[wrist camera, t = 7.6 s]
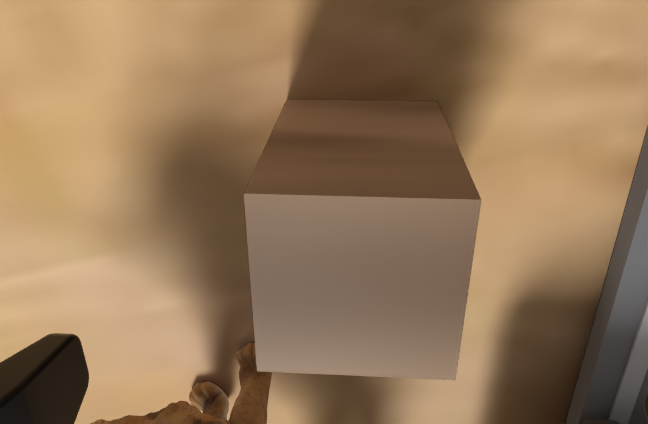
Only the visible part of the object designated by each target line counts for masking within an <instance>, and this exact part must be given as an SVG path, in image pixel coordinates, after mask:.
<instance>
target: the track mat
mask: <svg viewBox="0 0 648 424" xmlns="http://www.w3.org/2000/svg"><path fill="white" fill-rule="evenodd" d="M647 392H648V128H647V132H646V135H645V139H644V143H643V146H642V150H641V153H640V157H639V160H638V164H637V168H636V171H635V175H634V178H633V182H632V186H631V189H630V193H629V196H628V200H627V204H626V207H625V211H624V214H623V218H622V222H621V225H620V229H619V232H618V236H617V240H616V243H615V247H614V250H613V254H612V258H611V261H610V265H609V268H608V272H607V276H606V279H605V283H604V286H603V290H602V294H601V297H600V301H599V304H598V308H597V312H596V315H595V319H594V322H593V326H592V330H591V333H590V337H589V340H588V344H587V348H586V351H585V355H584V358H583V362H582V366H581V369H580V373H579V376H578V380H577V384H576V387H575V391H574V394H573V398H572V402H571V405H570V409H569V412H568V416H567V420H566V423H565V424H581V423H582V422H583V421H584V420H585V419H598V420H615V421H618V422H619V423H620V424H648V421H647V418H646V414H645V407H644V404H645V398H646V395H647Z"/></svg>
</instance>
